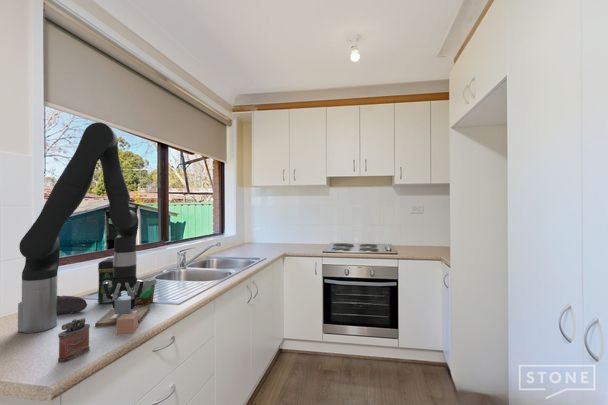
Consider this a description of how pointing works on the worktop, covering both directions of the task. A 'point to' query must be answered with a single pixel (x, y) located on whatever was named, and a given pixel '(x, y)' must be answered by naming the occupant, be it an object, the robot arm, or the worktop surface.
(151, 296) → the food container
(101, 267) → the coffee jar
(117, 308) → the slate block
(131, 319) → the terracotta block
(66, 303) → the perforated stone tool
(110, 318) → the walnut board
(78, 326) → the lighter
